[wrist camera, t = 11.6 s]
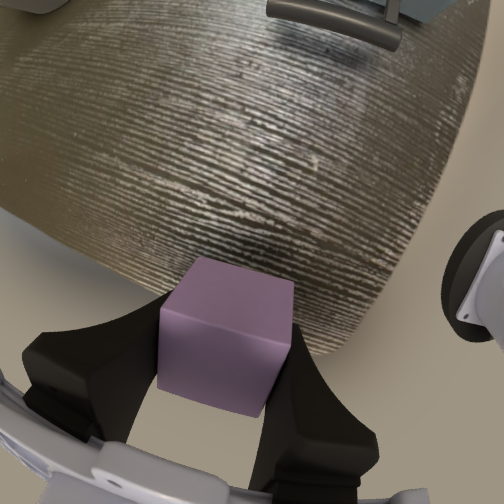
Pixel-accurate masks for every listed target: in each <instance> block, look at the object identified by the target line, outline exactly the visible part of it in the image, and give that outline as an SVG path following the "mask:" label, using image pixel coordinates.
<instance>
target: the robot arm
mask: <svg viewBox="0 0 504 504" xmlns="http://www.w3.org/2000/svg"><path fill="white" fill-rule="evenodd" d="M502 237H503V239H502ZM173 290H174V289H173ZM173 290H171V291H169V292H168V293H166V294H164V295H162V296H161V297H159V298H157V299H156V300H154V301H152V302H151V303H149V304H147V305H145V306H143V307H142V308H139V309H138V310H135V311H133V312H131V313H129V314H127V315H125V316H123V317H120V318H118V319H115V320H112V321H109V322H106V323H103V324H99V325H96V326H91V327H87V328H82V329H77V330H71V331H61V332H42V333H41V334H40V335H39V336H38V337H37V338H36V339H35V340H34V341H33V342H32V343H31V344H30V345H29V346H28V347H27V348H26V349H25V350H24V351H23V353H22V361H23V365H24V367H25V370H26V372H27V375H28V377H29V379H30V382H31V384H32V386H31V387H30V388H29V390H28V391H27V392H26V393H25V394H24V393H22V392H21V391H19V390H18V389H17V388H16V387H14V386H13V385H12V384H10V383H9V382H8V381H6V380H5V378H4V376H3V373H2V371H1V369H0V445H1V446H2V447H4V448H5V449H6V450H7V451H9V453H10V454H12V455H13V456H14V457H15V458H16V459H18V460H19V461H20V462H21V463H22V464H24V465H25V466H26V467H28V468H29V469H30V470H31V471H33V472H34V473H35V474H37V475H38V476H39V477H41V478H42V479H44V480H45V481H46V482H48V484H47V486H46V487H45V489H44V491H43V493H42V494H41V496H40V498H39V500H38V501H37V503H36V504H430V502H429V496H428V490H427V488H419V489H410V490H404V491H401V492H399V493H397V494H395V495H393V496H392V497H391V498H386V499H367V500H366V499H364V500H357V487H359V486H360V484H361V480H360V477H361V476H362V475H363V474H365V473H366V472H367V471H368V470H370V469H371V468H372V467H373V466H374V465H375V464H376V463H377V462H378V460H379V449H378V443H377V439H376V435H375V433H374V432H372V431H371V430H370V429H369V428H367V427H366V426H365V425H364V424H362V423H361V422H360V421H359V420H357V418H355V416H353V415H352V414H351V413H350V412H349V411H348V410H347V409H346V408H345V406H344V405H343V404H342V403H341V402H340V401H339V400H338V398H337V397H336V396H335V395H334V393H333V392H332V391H331V390H330V388H329V387H328V385H327V384H326V382H325V381H324V379H323V378H322V376H321V374H320V373H319V371H318V369H317V367H316V365H315V363H314V361H313V359H312V357H311V355H310V353H309V351H308V348H307V346H306V344H305V341H304V339H303V336H302V333H301V330H300V328H299V326H298V324H294V323H292V337H291V347H290V350H289V352H288V354H287V357H286V359H285V361H284V363H283V366H282V368H281V370H280V373H279V375H278V377H277V379H276V381H275V384H274V386H273V388H272V390H271V392H270V395H269V397H268V399H267V401H266V405H265V416H264V423H263V428H262V434H261V438H260V443H259V448H258V451H257V456H256V460H255V464H254V469H253V472H252V476H251V480H250V483H249V487H248V490H247V489H242V488H237V487H233V486H229V485H228V484H227V482H225V481H224V480H222V479H220V478H219V477H217V476H215V475H212V474H209V473H207V472H204V471H201V470H197V469H194V468H191V467H187V466H184V465H181V464H178V463H175V462H172V461H169V460H166V459H164V458H161V457H158V456H155V455H153V454H150V453H148V452H145V451H143V450H140V449H138V448H135V447H132V446H130V445H127V444H126V441H127V438H128V436H129V433H130V430H131V428H132V425H133V423H134V420H135V418H136V415H137V413H138V411H139V408H140V406H141V404H142V401H143V399H144V397H145V395H146V393H147V390H148V388H149V386H150V384H151V383H152V381H153V379H154V377H155V376H156V374H157V367H158V341H159V322H160V308H161V307H162V305H163V304H164V303H165V301H166V300H167V298H168V297H169V296H170V294H171V293H172V292H173ZM456 317H457V319H458V320H460V321H465V322H469V323H473V324H477V325H481V326H485V327H486V328H487V329H488V331H489V332H490V333H491V335H492V336H493V338H494V339H495V340H496V342H497V343H498V345H499V346H500V348H501V349H502V351H503V352H504V232H503V231H501V230H499V229H498V230H496V231H495V233H494V235H493V238H492V240H491V242H490V245H489V247H488V250H487V252H486V254H485V257H484V259H483V261H482V263H481V266H480V268H479V270H478V272H477V274H476V276H475V278H474V280H473V282H472V284H471V286H470V288H469V290H468V292H467V294H466V296H465V298H464V300H463V302H462V303H461V305H460V307H459V309H458V311H457V313H456Z"/></svg>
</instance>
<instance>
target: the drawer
mask: <svg viewBox="0 0 504 504" xmlns="http://www.w3.org/2000/svg"><path fill="white" fill-rule="evenodd" d="M369 1H372V2H375V3H377V4H380V5H383V6H385V11H384V17H383V20H380V19H377V18H375V17H372V16H369V15H366V14H363V13H360V12H357V11H354V10H351V9H348V8H345V7H341V6H338V5H334V4H331V3H327V2H323V1H319V0H268V1H267V6H266V15H267V16H268V17H272V18H278V19H283V20H288V21H293V22H298V23H302V24H307V25H311V26H315V27H319V28H323V29H326V30H330V31H333V32H337V33H340V34H343V35H347V36H350V37H353V38H356V39H359V40H362V41H365V42H368V43H370V44H373V45H376V46H378V47H381V48H384V49H386V50H389V51H391V52H395V51H396V50H397V48H398V46H399V44H400V41H401V37H402V29H401V28H400V27H398V26H396V25H397V22H398V16H399V12H400V13H402V14H405V15H407V16H409V17H412V18H414V19H416V20H418V21H420V22H422V23H424V24H426V23H428V22H429V21H430V20H432V19H433V18H434V17H436V16H437V15H438V14H440V13H441V12H442V11H444V10H445V9H447V8H448V7H449V6H451V5H452V4H454V3H455V2H456V1H458V0H369Z"/></svg>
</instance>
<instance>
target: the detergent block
mask: <svg viewBox="0 0 504 504" xmlns="http://www.w3.org/2000/svg"><path fill="white" fill-rule="evenodd" d="M293 298H294V282H293V281H289V280H285V279H282V278H278V277H274V276H271V275H267V274H263V273H260V272H256V271H252V270H249V269H245V268H242V267H238V266H234V265H231V264H227V263H224V262H220V261H217V260H213V259H210V258H206V257H203V256H199V257H198V258H197V259H196V261H195V262H194V263H193V265H192V266H191V267H190V269H189V270H188V271H187V273H186V274H185V275H184V277H183V278H182V279H181V281H180V282H179V284H178V285H177V286H176V288H175V289H174V290H173V292H172V293H171V294H170V296H169V297H168V298H167V300H166V301H165V303H164V304H163V305H162V307H161V308H160V322H159V341H158V367H157V388H158V389H161V390H164V391H166V392H169V393H172V394H175V395H178V396H181V397H184V398H187V399H190V400H193V401H196V402H199V403H202V404H206V405H209V406H212V407H216V408H219V409H223V410H227V411H230V412H234V413H238V414H242V415H246V416H250V417H254V418H258V417H259V416H260V414H261V411H262V409H263V407H264V405H265V403H266V401H267V399H268V397H269V395H270V392H271V390H272V388H273V386H274V384H275V381H276V379H277V377H278V375H279V373H280V370H281V368H282V366H283V363H284V361H285V359H286V357H287V354H288V352H289V350H290V347H291V337H292V319H293Z"/></svg>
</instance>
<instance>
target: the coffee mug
mask: <svg viewBox="0 0 504 504" xmlns="http://www.w3.org/2000/svg"><path fill="white" fill-rule="evenodd" d="M68 1H69V0H0V6H2V7H8V8H13V9H18V10H23V11H27V12H31V13H36V14H45V13H49V12H51V11H53V10H55V9H57V8H59V7H61V6H62V5H64V4H65V3H66V2H68Z"/></svg>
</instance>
